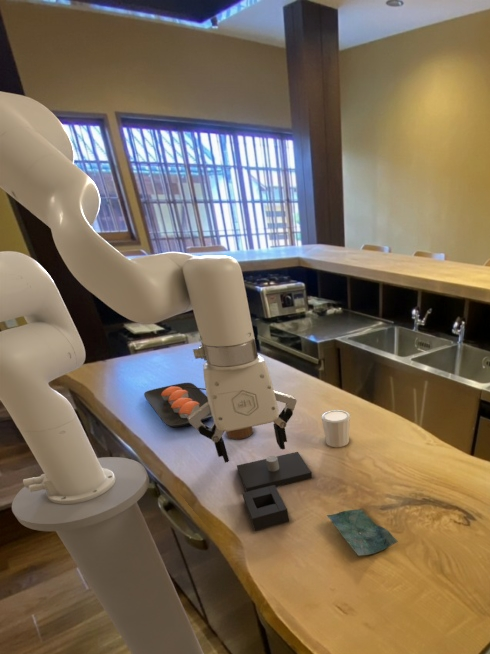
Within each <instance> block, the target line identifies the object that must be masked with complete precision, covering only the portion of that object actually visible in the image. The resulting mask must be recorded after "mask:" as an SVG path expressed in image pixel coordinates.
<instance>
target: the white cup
mask: <svg viewBox="0 0 490 654" xmlns="http://www.w3.org/2000/svg"><path fill="white" fill-rule="evenodd" d="M350 421H351V414H350V413H349V412H347V411H346V410H340V409H333V410H328V411H326V412H324V413H322V414H321V423H322V428H323V433H324V438H325V443H326V444H327V446H329V447H331V448H341V447H346V446H347V445H348V444H349V443H350V426H351V425H350Z"/></svg>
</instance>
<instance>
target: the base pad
mask: <svg viewBox="0 0 490 654" xmlns="http://www.w3.org/2000/svg"><path fill="white" fill-rule="evenodd" d="M236 469H237V472H238V474H239V477H240V480H241V481H242V485H243V486H244V489H245V492H248V491H249V492H250V491H252V490H256V489H260V488H264V487H268V486H272V485H275V486H276V488H278V487H282V486H285V485H291V484H294V483H298V482H301V481H306V480H310V479H312V478H313V473H312V471H311V470H310V468H309V466H308V464H307V463H306V462H305V460H304V459H303V457H302V455H301V454H300V453H299V451H295V452H290V453H286V454H281V455H276V456H274V455H273V456H272V455H271V456H268V457H267V458H263V459H260V460H255V461H250V462H246V463H241V464H237V465H236Z"/></svg>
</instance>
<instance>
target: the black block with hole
mask: <svg viewBox="0 0 490 654" xmlns="http://www.w3.org/2000/svg"><path fill="white" fill-rule="evenodd" d="M277 488H278V487H276V486H275V485H272V486H268V487H264V488H260V489H256V490H252V491H250V492H249V491H248V492H246V491H245V492H242V493H241V494H242V499H243V503H244V507H245V509H246V512H247V514H248V517H249V519H250V522H251V524H252V527H253V530H254V531H255V532H257V531H261V530H265V529H269V528H272V527H275V526H278V525H282V524H286V523H289V522H290V518H289V512H288V508H287V506H286V504H285V502H284V500H283V498H282V497H281V494H280V492H279V490H278V489H277Z"/></svg>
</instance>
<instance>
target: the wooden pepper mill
mask: <svg viewBox="0 0 490 654" xmlns="http://www.w3.org/2000/svg"><path fill="white" fill-rule="evenodd" d="M225 433H226V436H227V438H229V439H231V440H242V439H247V438H248V437H250V436H252V434H253V433H254V431H253V427H248V428H243V429H238V430H233V431H225Z"/></svg>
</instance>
